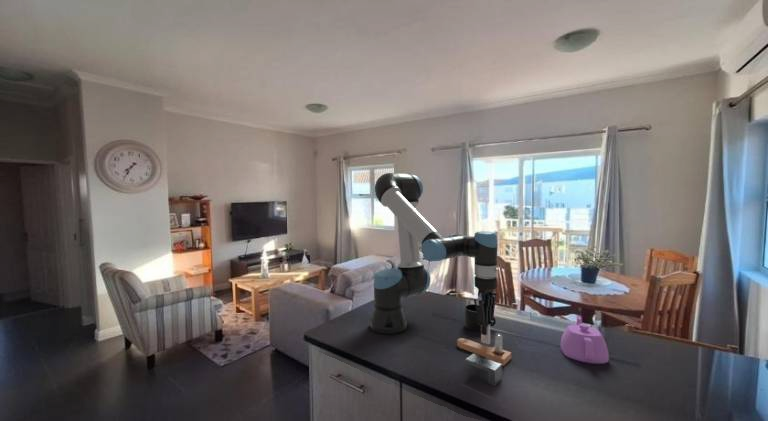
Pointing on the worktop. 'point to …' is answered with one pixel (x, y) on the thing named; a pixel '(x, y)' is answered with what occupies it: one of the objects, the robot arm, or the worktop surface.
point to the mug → (473, 318)
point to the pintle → (498, 344)
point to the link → (484, 351)
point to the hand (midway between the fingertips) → (485, 342)
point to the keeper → (487, 367)
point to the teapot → (584, 343)
